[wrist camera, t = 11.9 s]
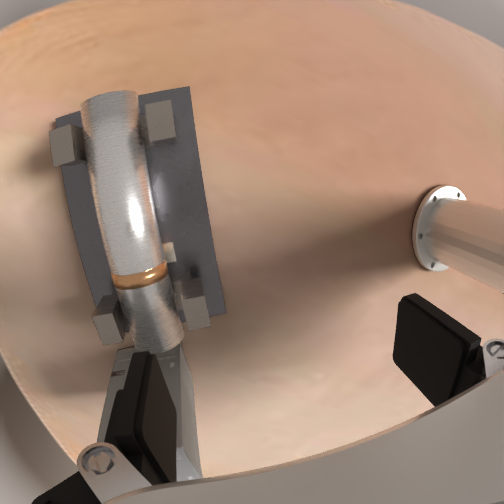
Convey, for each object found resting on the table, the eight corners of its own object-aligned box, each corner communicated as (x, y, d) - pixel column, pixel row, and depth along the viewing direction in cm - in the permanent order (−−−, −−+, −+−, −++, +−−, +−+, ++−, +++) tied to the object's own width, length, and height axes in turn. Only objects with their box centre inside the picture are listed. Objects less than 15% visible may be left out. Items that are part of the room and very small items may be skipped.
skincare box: (179, 336, 35) (186, 440, 20) (194, 382, 37) (209, 483, 22) (112, 348, 33) (88, 449, 18) (132, 392, 35) (123, 491, 20)
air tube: (91, 112, 23) (70, 103, 19) (143, 98, 24) (131, 86, 19) (138, 329, 30) (130, 357, 25) (185, 321, 31) (183, 349, 26)
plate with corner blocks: (189, 88, 27) (191, 66, 20) (225, 309, 35) (236, 344, 28) (59, 119, 25) (27, 109, 18) (108, 331, 32) (95, 369, 25)
